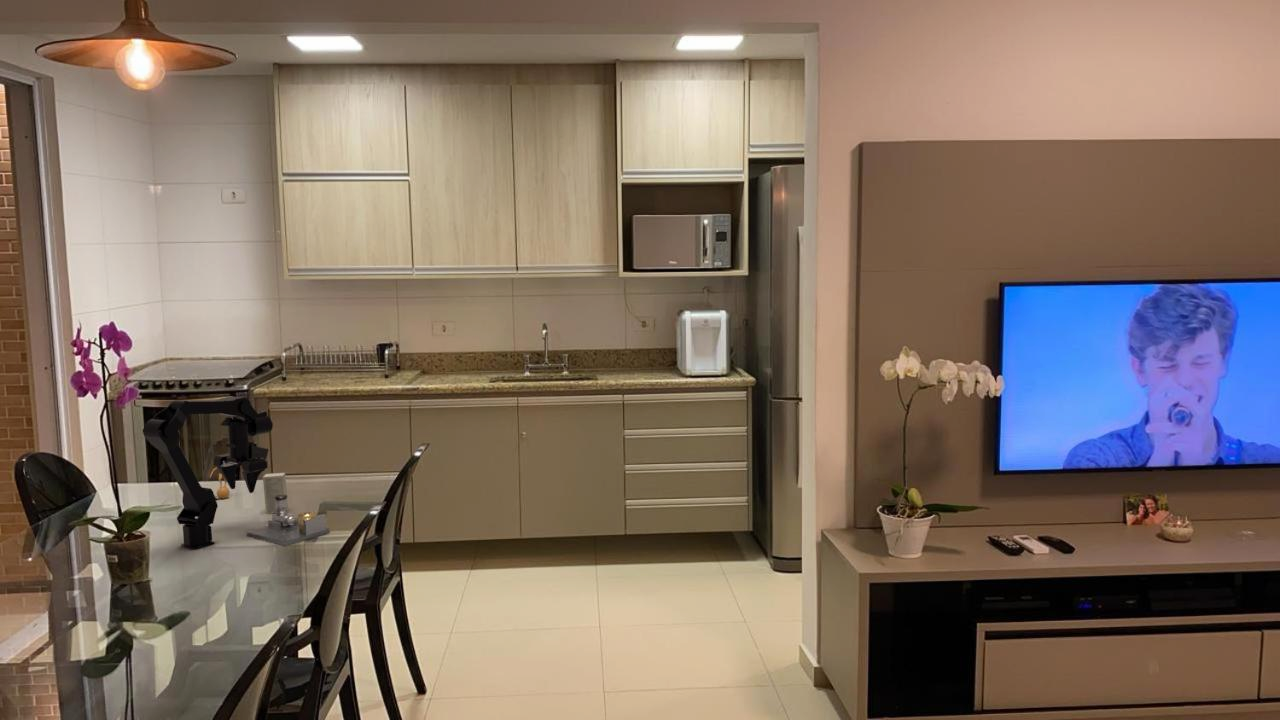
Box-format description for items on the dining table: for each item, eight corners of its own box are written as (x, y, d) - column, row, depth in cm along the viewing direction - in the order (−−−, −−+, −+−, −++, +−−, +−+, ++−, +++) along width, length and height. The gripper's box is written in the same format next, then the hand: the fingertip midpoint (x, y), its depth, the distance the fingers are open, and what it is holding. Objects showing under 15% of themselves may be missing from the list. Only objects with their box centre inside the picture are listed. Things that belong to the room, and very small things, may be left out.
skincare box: (288, 509, 302) (286, 472, 301) (285, 512, 298) (283, 475, 296) (268, 510, 301) (265, 473, 300) (264, 514, 296) (262, 476, 295)
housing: (306, 533, 269) (305, 515, 269) (295, 531, 272) (294, 513, 272) (320, 529, 274) (319, 511, 273) (310, 527, 276) (309, 509, 276)
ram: (287, 527, 275) (285, 499, 274) (272, 524, 279) (270, 496, 278) (298, 524, 278) (297, 496, 278) (284, 521, 282) (282, 493, 281)
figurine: (209, 500, 315) (206, 465, 313) (212, 496, 320) (210, 462, 319) (235, 498, 317) (233, 464, 315) (238, 494, 322) (236, 460, 321)
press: (285, 545, 262) (284, 526, 262) (247, 536, 272) (245, 517, 272) (329, 532, 275) (328, 513, 274) (291, 523, 285) (290, 505, 284)
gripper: (282, 437, 277) (285, 488, 279) (244, 431, 288) (248, 481, 289) (248, 443, 268) (251, 497, 270) (210, 437, 278) (214, 489, 280)
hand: (242, 490), depth 277 cm, fingers open, 9 cm apart
